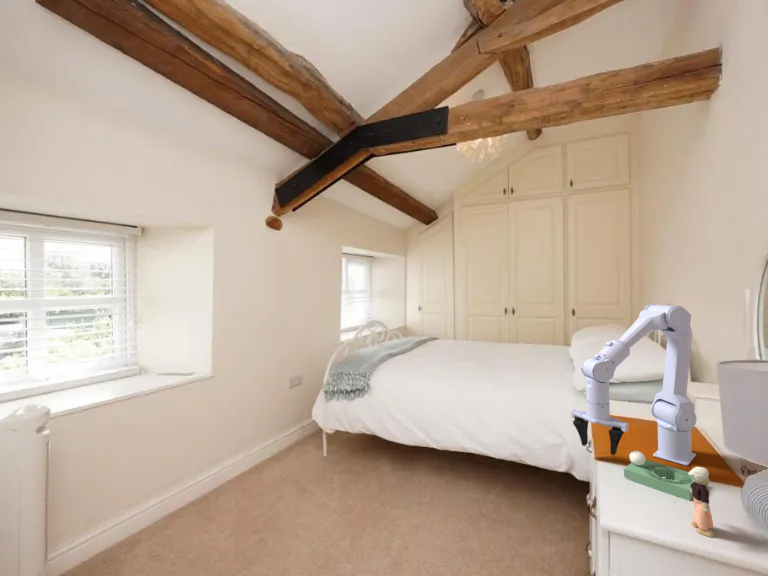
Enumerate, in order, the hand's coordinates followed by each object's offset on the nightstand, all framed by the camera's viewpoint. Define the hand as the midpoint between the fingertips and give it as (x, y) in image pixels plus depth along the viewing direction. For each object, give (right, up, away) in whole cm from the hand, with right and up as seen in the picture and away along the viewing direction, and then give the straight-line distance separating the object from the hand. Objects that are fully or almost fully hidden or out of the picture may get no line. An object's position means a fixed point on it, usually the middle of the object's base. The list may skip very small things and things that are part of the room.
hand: (598, 449), depth 106 cm
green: (+9, -3, -11) cm, 14 cm away
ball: (+6, +1, -7) cm, 10 cm away
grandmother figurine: (+4, -4, -29) cm, 30 cm away
